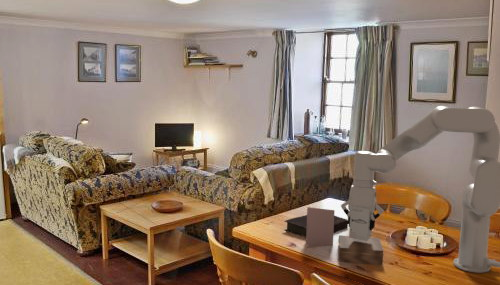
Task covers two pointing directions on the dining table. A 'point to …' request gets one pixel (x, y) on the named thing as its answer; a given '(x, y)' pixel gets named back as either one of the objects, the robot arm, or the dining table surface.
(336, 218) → the diary
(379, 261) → the walnut box
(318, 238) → the greeting card
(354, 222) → the supplement box
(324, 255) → the dining table surface
